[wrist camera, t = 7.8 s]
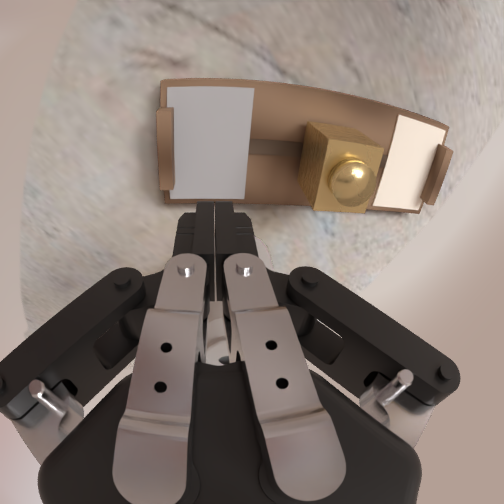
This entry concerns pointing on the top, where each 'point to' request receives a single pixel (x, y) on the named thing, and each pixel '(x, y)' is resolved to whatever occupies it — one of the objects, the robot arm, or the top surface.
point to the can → (216, 333)
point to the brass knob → (338, 168)
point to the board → (285, 143)
